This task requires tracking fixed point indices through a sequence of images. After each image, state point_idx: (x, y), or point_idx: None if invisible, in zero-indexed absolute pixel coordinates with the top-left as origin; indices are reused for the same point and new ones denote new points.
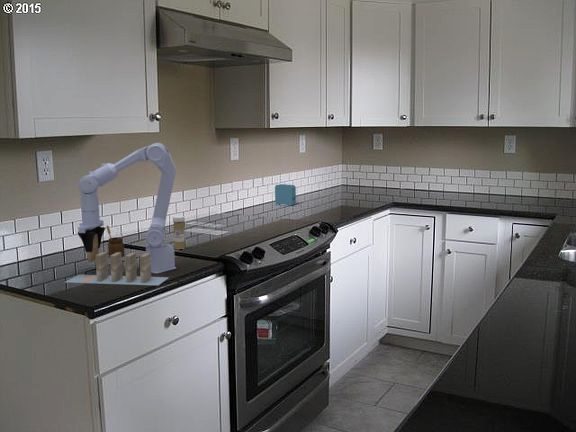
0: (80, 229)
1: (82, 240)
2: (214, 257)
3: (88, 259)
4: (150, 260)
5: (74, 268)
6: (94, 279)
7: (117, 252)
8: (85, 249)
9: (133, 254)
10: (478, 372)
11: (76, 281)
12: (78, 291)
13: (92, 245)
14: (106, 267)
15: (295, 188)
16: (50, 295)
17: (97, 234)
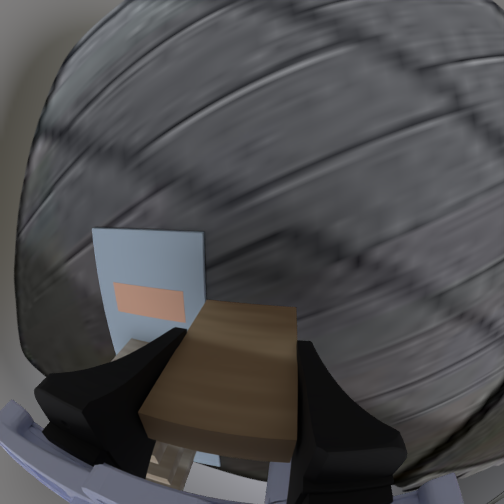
0: (4, 429)
1: (108, 368)
2: (417, 472)
3: (204, 308)
4: (184, 484)
5: (352, 140)
6: (145, 325)
7: (153, 457)
8: (165, 335)
9: (153, 478)
10: None
11: (108, 270)
12: (56, 308)
13: None
14: None
15: None
16: (20, 250)
17: (287, 459)
